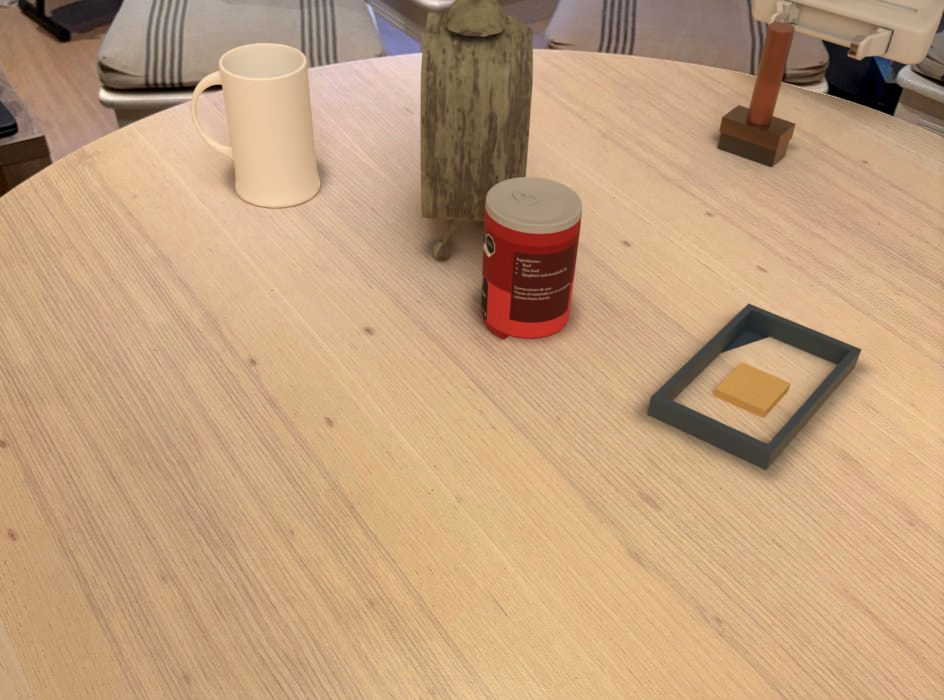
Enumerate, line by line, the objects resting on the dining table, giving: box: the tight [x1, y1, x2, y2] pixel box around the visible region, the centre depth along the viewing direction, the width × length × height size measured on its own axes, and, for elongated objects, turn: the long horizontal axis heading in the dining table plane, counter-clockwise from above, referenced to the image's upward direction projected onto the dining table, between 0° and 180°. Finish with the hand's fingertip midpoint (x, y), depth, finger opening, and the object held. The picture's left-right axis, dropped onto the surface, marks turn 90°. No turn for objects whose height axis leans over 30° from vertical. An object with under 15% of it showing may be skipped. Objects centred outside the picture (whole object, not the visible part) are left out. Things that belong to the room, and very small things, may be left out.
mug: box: [190, 42, 321, 209], centre depth 99 cm, size 12×8×12 cm
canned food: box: [480, 176, 583, 340], centre depth 86 cm, size 8×8×11 cm
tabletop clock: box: [420, 0, 534, 261], centre depth 89 cm, size 14×9×25 cm, turn 178°
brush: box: [717, 22, 797, 168], centre depth 106 cm, size 4×7×12 cm, turn 53°
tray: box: [646, 303, 862, 471], centre depth 82 cm, size 16×10×3 cm, turn 143°
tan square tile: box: [713, 361, 791, 419], centre depth 82 cm, size 4×4×1 cm
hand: (814, 38), depth 109 cm, fingers open, 8 cm apart
